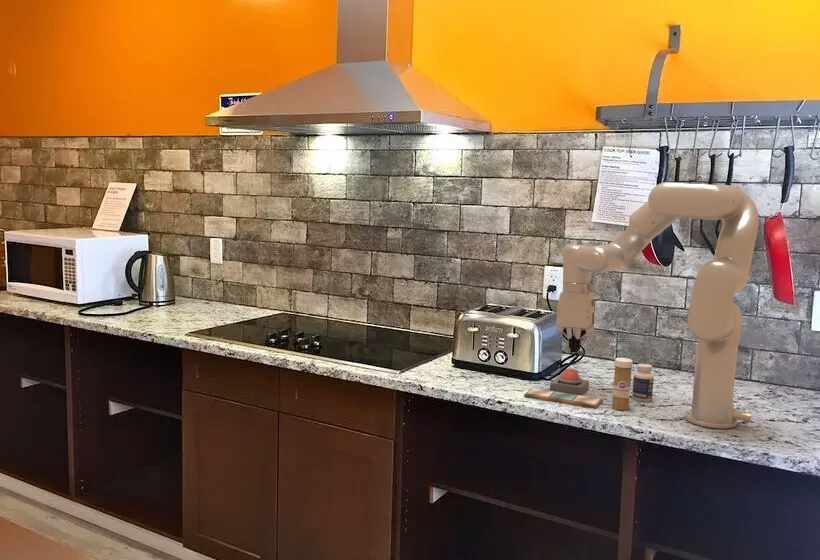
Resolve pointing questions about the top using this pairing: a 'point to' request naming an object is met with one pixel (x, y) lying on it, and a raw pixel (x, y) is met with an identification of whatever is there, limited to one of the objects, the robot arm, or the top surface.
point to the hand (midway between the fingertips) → (574, 351)
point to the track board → (564, 398)
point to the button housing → (569, 387)
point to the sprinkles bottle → (622, 383)
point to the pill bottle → (643, 383)
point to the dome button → (570, 377)
